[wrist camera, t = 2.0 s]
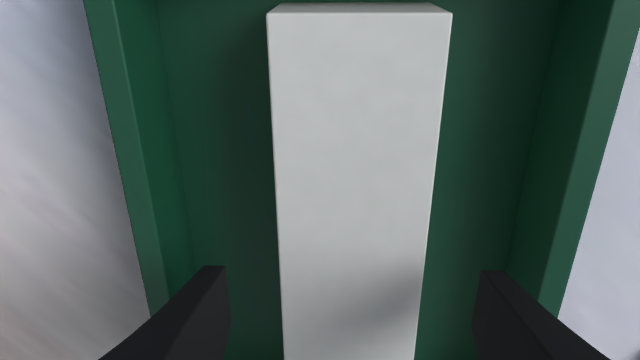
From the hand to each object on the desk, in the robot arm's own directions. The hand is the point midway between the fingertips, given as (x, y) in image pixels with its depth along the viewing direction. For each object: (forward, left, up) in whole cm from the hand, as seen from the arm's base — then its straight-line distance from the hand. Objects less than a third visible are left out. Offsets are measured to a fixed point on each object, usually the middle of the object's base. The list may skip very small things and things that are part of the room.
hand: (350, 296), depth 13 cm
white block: (0, 0, -4) cm, 4 cm away
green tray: (0, 0, -5) cm, 5 cm away
